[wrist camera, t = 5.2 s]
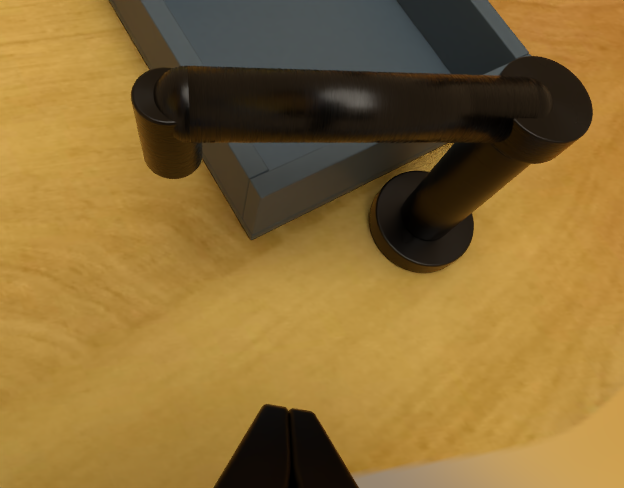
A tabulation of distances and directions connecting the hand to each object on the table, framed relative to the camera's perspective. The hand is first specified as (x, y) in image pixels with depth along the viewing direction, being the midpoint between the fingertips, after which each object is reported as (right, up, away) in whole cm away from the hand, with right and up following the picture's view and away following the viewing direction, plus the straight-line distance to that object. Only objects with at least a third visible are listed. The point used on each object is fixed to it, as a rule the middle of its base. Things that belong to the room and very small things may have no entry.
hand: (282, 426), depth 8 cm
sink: (0, +12, +16) cm, 20 cm away
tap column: (+5, +4, +14) cm, 15 cm away
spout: (+2, +6, +7) cm, 9 cm away
